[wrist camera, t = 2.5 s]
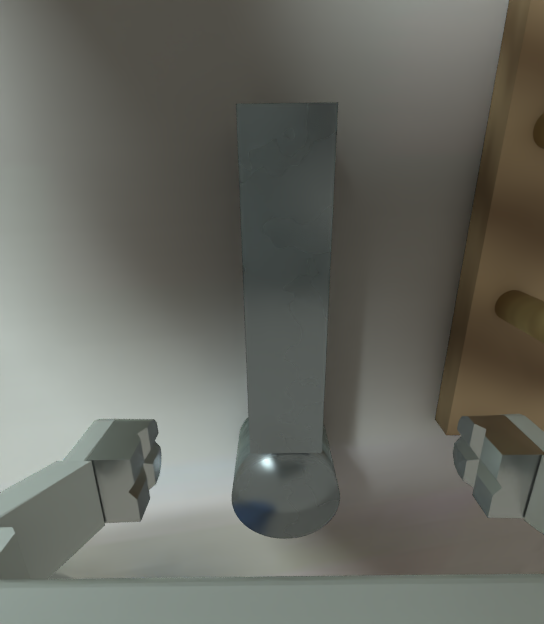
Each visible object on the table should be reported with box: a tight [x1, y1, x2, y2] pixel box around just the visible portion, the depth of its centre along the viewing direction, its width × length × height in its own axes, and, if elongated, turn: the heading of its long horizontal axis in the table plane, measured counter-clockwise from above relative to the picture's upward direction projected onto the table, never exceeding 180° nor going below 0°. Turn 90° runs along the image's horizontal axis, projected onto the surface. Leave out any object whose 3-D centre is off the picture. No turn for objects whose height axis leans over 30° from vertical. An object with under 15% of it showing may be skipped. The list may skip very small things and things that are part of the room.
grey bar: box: [232, 103, 340, 539], centre depth 18 cm, size 21×6×4 cm, turn 1°
